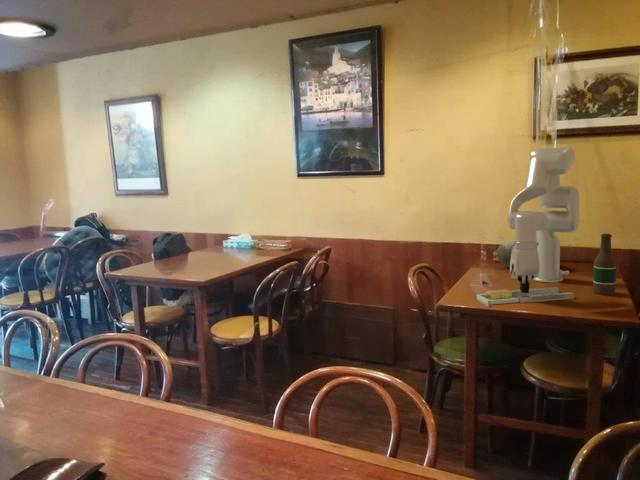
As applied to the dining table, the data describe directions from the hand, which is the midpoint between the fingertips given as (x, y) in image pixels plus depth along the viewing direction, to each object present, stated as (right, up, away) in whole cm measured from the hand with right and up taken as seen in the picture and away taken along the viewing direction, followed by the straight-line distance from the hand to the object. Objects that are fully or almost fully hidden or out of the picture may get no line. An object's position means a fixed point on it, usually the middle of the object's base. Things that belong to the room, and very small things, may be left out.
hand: (524, 292), depth 188 cm
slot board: (+6, -3, +1) cm, 6 cm away
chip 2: (-9, -3, -2) cm, 9 cm away
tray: (-11, -4, -2) cm, 12 cm away
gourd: (+25, +6, +62) cm, 67 cm away
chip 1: (-13, -3, -2) cm, 13 cm away
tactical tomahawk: (-6, -1, +21) cm, 22 cm away
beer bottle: (+34, -1, +6) cm, 35 cm away
